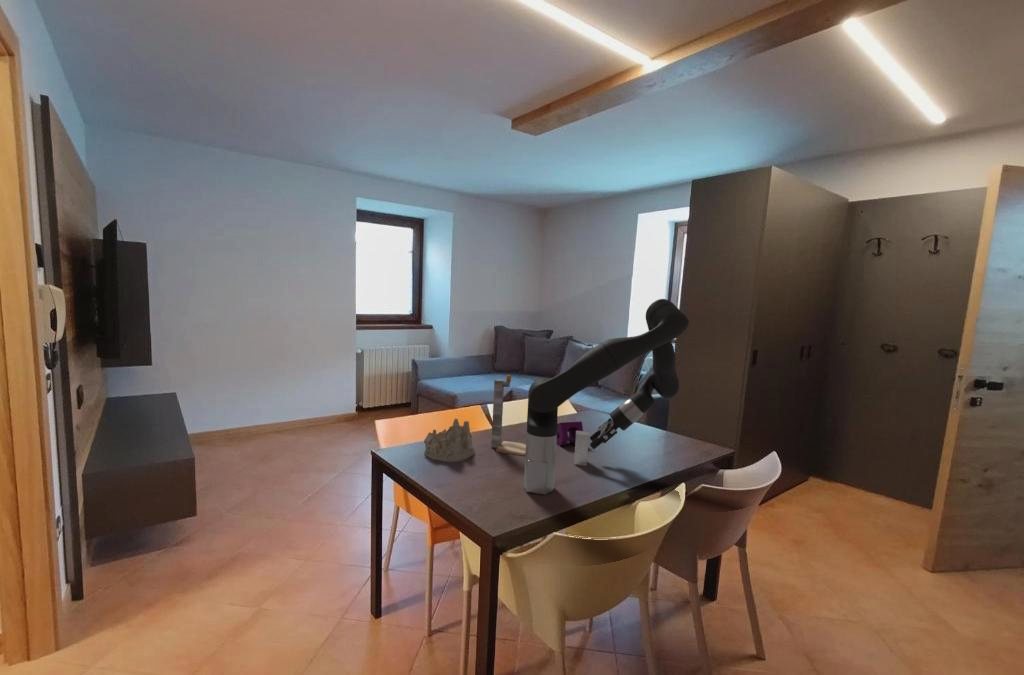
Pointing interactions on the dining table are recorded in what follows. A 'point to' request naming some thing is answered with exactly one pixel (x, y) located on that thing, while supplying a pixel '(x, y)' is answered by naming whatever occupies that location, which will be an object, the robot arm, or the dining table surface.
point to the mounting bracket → (563, 432)
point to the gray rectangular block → (581, 448)
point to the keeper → (497, 422)
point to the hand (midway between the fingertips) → (591, 443)
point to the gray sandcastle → (450, 443)
